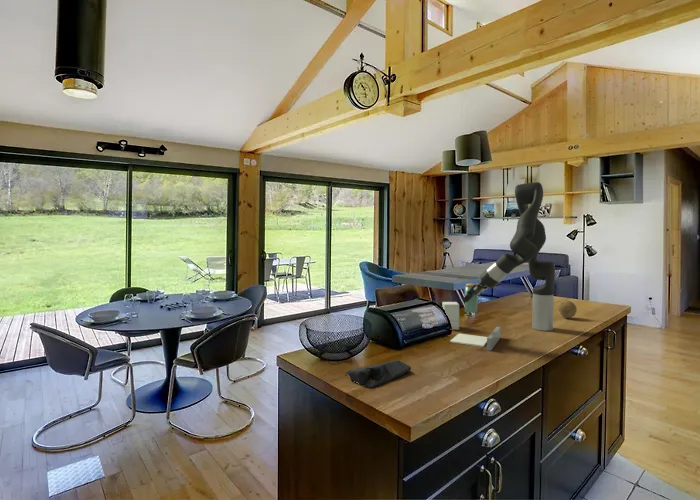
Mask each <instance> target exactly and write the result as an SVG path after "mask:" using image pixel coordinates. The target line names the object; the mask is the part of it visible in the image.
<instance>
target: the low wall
mask: <svg viewBox="0 0 700 500" xmlns="http://www.w3.org/2000/svg"><path fill="white" fill-rule="evenodd" d="M501 330H502V329H501V326H495V328H494V329H493V331H491V332H490V334H489V335H488V336H486V337H487V343H486V351H489V352H491V351H492V350H493V349H494V347H495V346H496V344H497V343H498V342H499V340H500V339H501Z"/></svg>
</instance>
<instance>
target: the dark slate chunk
mask: <svg viewBox="0 0 700 500" xmlns="http://www.w3.org/2000/svg"><path fill="white" fill-rule="evenodd" d="M411 369H412V367H411V366H410V365H408V364H406V363H404V362H403V361H402V360H397V359H396V360H388V361H386V362H382V363H378V364H373V365H372V364H371V365H367V366H364V367H362V366H361V367H358V368H354V369H349V370H348V371H346V372H345V374H348V375H349V376H350V378H351V379H350V381H351V380H353V381H355V382H358V383H359V384H362V385H363V384H365V386H367V388H369V389H374V388H375V387H378V386H380V385H384V384H385V383H389V382H390V381H392V380H394V379H397V378H399V377H401V376H403V375H405V374H406V373H408V372H410V371H411ZM368 378H371V379H368ZM374 380H375V381H374ZM353 381H352V382H353ZM359 384H358V385H359ZM362 385H361V386H362ZM365 386H364V387H365ZM370 387H371V388H370Z"/></svg>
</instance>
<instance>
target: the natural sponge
mask: <svg viewBox="0 0 700 500" xmlns="http://www.w3.org/2000/svg"><path fill="white" fill-rule="evenodd" d="M557 306H558V307H557V309H558V312H559V314H560V315H561V317H563V319H566V318H569V319H571V318H572V317H575V315H576V313H577V312H578V311H577V310H578V309H577V305H576V304H575V303H574V302H573V301H570V300H567V299H566V300H562V301H561V302H559V304H558V305H557Z"/></svg>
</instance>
